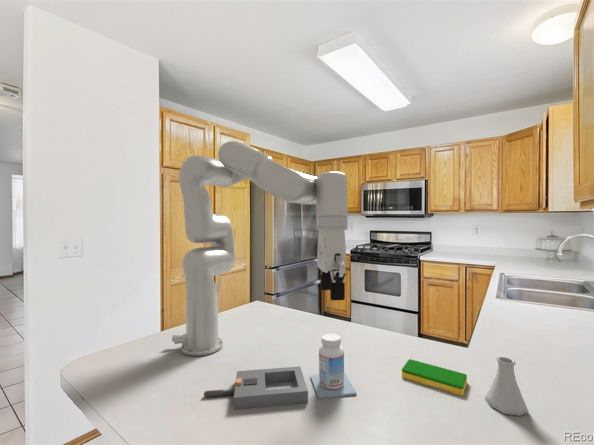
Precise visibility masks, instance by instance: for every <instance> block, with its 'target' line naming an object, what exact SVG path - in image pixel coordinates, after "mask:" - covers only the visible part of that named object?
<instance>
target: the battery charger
mask: <svg viewBox="0 0 594 445" xmlns="http://www.w3.org/2000/svg"><path fill="white" fill-rule="evenodd" d="M290 381H294V384H295V387H283V388H273V389H272V388H271V389H267V388H266V384H267V383H276V382H278V383H280V382H290ZM203 396H204V397H205V398H209V397H222V396H233V410H240V409H241V410H242V409H250V408H251V409H252V408H260V407H263V408H264V407H273V406H284V405H293V404H304V403H309V390H308V386H307V383H306V380H305V376H304V374H303V371H302V368H301V366H300V365H299V366H287V367H286V366H285V367H277V368H276V367H274V368H262V369H261V368H260V369H248V370H237V371H236V376H235V385H234V388H227V389H225V388H224V389H216V390H215V389H214V390H213V389H212V390H205V391H204V393H203Z"/></svg>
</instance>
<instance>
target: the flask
mask: <svg viewBox="0 0 594 445" xmlns="http://www.w3.org/2000/svg"><path fill="white" fill-rule="evenodd" d="M496 361H497V369H496V373H495V376H494V379H493V381H492V383H491V385H490V387H489V389H488V391H487V393H486V395H485V397H484V400H486V402H487V403H488V405H489V406H490V407H492V408H493V409H495V410H497V411H499V412H500V413H502V414H504V415H510V416H519V417H521V416H523V415H526V414H528V413H529V410H528V406H527V405H526V403H525V400H524V397H523V396H522V393H521V390H520V388H519V385H518V383H517V379H516V375H515V368H514V367H515V365H516V361H515V360H514V359H512V358H509V357H507V356H497V357H496Z"/></svg>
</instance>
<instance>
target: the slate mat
mask: <svg viewBox="0 0 594 445" xmlns="http://www.w3.org/2000/svg"><path fill="white" fill-rule="evenodd" d="M310 380H311V382H312V385H313V388H314V390H315V394H316V397H317V399H327V398H338V397H348V396H349V397H351V396H357V394H358V393H357V392H356V390H355V388H354V386H353V385H352V383H351V381H350V379H349V378H348V376H347V374H346V373H345V372H344V384H343V386H342V387H341V388H339V389H327V388H324V387H323V386H322V385H321V384H320V381H319V374H312V375H311V374H310Z"/></svg>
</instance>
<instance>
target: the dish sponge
mask: <svg viewBox="0 0 594 445" xmlns="http://www.w3.org/2000/svg"><path fill="white" fill-rule="evenodd" d="M467 376H468V375H467V374H466V373H463V372H459V371H455V370H451V369H447V368H444V367H441V366H438V365H437V366H436V365H434V364H429V363H426V362H422V361H419V360H415V359H411V358H410V359H408V360H407V361H406V363H405V364H404V365H403V367H402V368H401V377H402V378H405V379H407V380H411V381H412V382H413V381H414V382H416V383H417V382H418V383H419V384H423V385H425V386H429V385H430V387H432V386H433V387H434V388H436V387H437V388H436V389H439V388H441V389H440V390H442V389H444V390H443V391H445V390H447V391H446V392H448V391H450V392H449V393H452V392H453V393H452V394H455V393H456V395H458V394H460V395H459V396H464V393H465V391H464V390H466V387H467V384H466V383H467V382H468V379H467V378H468V377H467Z"/></svg>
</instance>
